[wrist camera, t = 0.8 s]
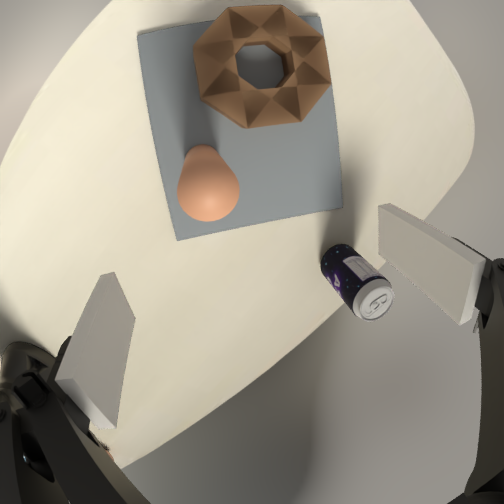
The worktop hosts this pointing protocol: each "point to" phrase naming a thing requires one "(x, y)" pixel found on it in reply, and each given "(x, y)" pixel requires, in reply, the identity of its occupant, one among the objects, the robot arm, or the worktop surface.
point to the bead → (278, 40)
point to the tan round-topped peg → (207, 185)
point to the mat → (238, 135)
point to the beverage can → (357, 282)
